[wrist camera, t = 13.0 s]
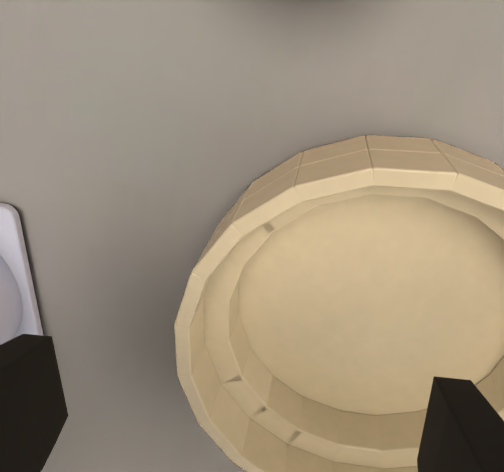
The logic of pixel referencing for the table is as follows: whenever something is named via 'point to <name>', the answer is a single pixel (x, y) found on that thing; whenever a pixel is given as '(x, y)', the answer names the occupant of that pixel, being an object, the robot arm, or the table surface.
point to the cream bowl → (346, 305)
